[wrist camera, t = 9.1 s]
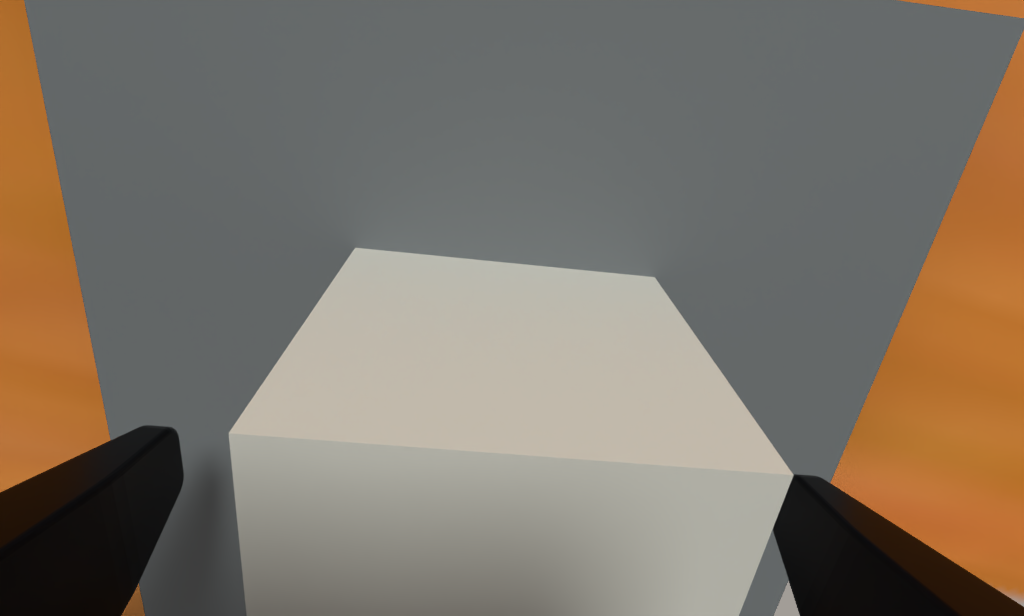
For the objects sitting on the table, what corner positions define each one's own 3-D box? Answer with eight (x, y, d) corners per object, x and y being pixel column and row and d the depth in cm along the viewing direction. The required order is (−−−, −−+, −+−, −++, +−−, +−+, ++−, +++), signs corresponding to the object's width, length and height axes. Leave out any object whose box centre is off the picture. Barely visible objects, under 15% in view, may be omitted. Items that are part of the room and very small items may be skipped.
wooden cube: (353, 488, 12) (262, 777, 7) (355, 247, 10) (227, 433, 5) (602, 505, 12) (670, 790, 7) (654, 276, 10) (793, 475, 5)
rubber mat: (175, 587, 14) (148, 632, 13) (62, -105, 8) (-1, -127, 7) (734, 618, 15) (752, 663, 14) (966, 22, 10) (1028, 18, 8)
